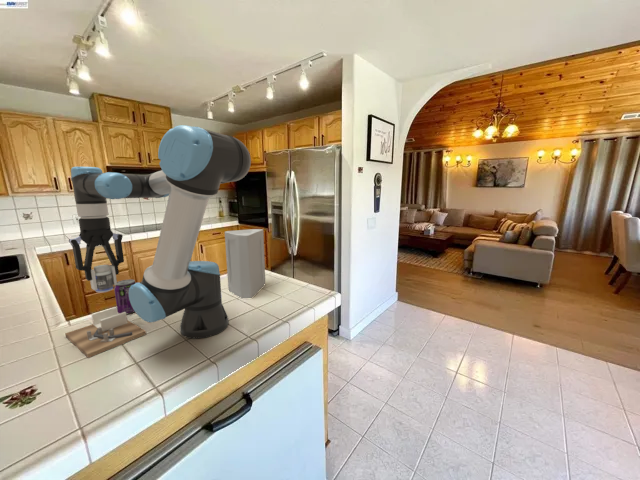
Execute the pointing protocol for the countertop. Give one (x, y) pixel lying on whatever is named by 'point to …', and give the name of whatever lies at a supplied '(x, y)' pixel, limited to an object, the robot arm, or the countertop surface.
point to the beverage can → (123, 296)
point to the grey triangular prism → (245, 261)
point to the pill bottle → (103, 278)
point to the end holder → (109, 319)
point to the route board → (95, 346)
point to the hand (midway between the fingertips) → (104, 286)
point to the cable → (112, 336)
